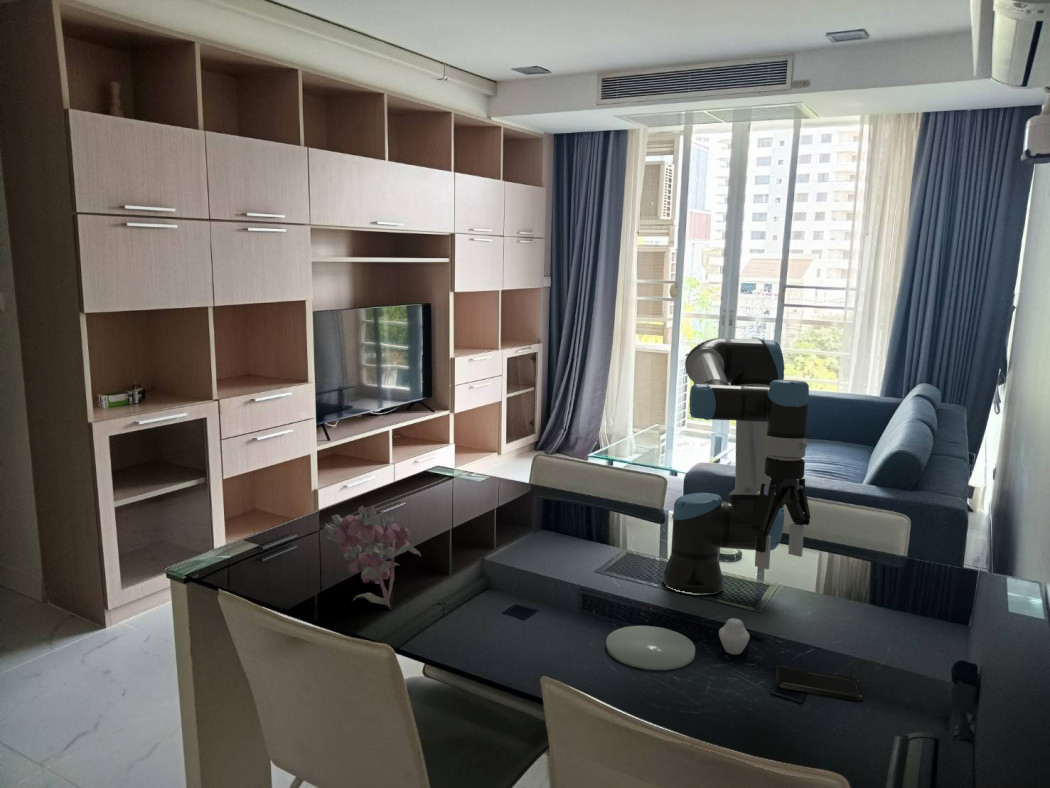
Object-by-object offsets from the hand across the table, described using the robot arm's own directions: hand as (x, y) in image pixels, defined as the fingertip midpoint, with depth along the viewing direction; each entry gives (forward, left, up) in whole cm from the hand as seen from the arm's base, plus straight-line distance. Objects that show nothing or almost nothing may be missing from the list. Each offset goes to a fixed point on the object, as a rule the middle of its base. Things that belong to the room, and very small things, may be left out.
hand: (779, 561), depth 154 cm
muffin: (-5, -6, -20) cm, 21 cm away
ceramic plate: (-15, -20, -20) cm, 32 cm away
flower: (-74, -54, -20) cm, 94 cm away
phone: (+13, -4, -20) cm, 24 cm away
